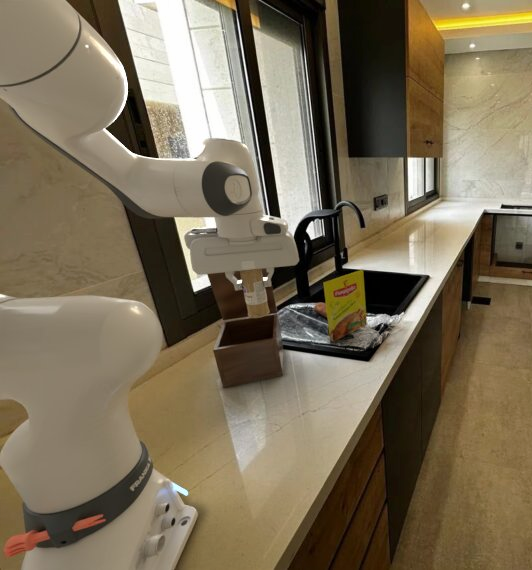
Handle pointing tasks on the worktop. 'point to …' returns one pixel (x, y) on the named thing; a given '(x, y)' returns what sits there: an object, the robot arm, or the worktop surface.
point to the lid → (235, 296)
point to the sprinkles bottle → (254, 290)
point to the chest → (249, 350)
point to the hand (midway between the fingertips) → (254, 287)
